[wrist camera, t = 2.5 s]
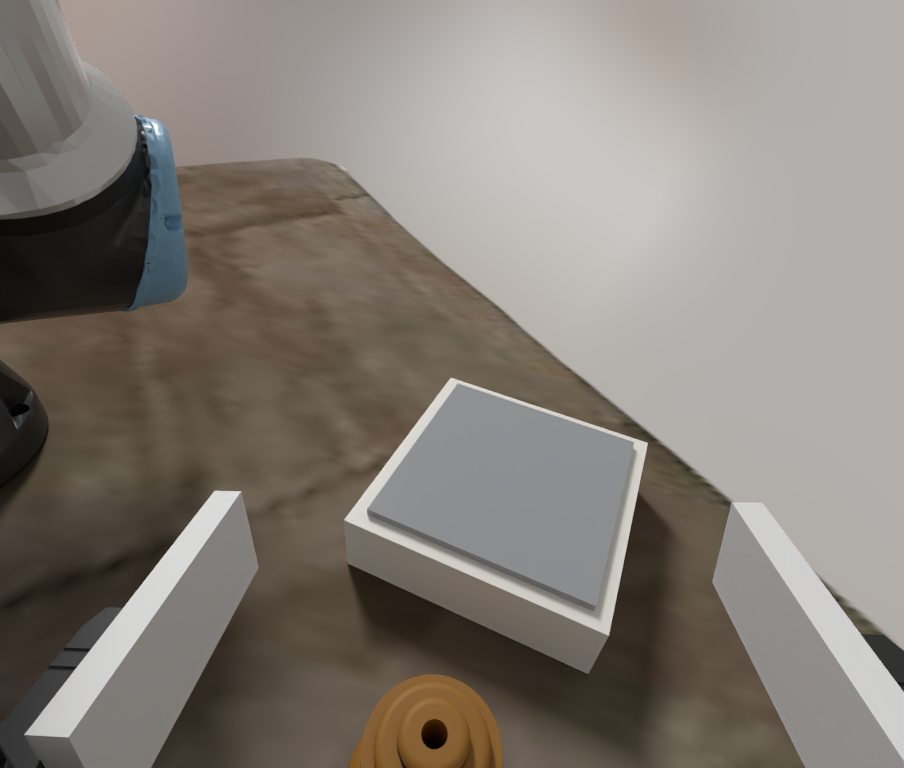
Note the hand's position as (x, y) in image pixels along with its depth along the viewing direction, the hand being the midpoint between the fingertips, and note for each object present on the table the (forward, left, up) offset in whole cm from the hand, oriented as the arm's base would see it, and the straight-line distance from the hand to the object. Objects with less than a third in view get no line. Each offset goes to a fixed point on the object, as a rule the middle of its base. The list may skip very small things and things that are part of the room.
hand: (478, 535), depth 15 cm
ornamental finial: (0, -1, -19) cm, 19 cm away
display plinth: (-2, +16, -19) cm, 25 cm away
